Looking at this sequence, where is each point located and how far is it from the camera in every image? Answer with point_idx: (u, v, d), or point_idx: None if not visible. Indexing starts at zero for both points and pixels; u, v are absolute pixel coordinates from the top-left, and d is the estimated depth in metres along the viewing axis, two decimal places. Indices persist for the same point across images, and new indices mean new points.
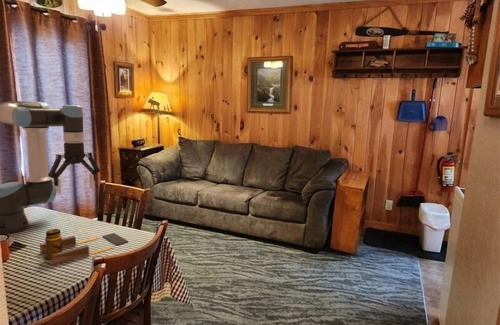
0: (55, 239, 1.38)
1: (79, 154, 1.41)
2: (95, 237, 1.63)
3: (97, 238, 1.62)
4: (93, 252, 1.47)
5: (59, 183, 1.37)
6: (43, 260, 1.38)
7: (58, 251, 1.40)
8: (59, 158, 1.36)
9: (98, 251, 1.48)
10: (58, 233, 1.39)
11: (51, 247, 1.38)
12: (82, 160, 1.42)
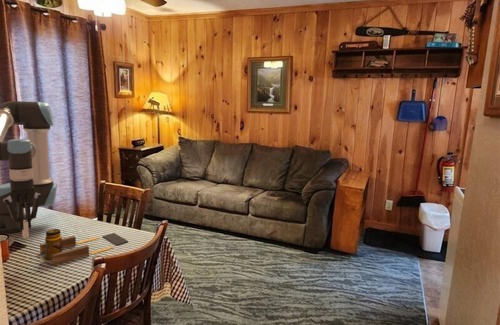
0: (55, 239, 1.38)
1: (30, 189, 1.30)
2: (95, 237, 1.63)
3: (97, 238, 1.62)
4: (93, 252, 1.47)
5: (24, 227, 1.31)
6: (43, 260, 1.38)
7: (58, 251, 1.40)
8: (8, 202, 1.25)
9: (98, 251, 1.48)
10: (58, 233, 1.39)
11: (51, 247, 1.38)
12: (28, 200, 1.30)
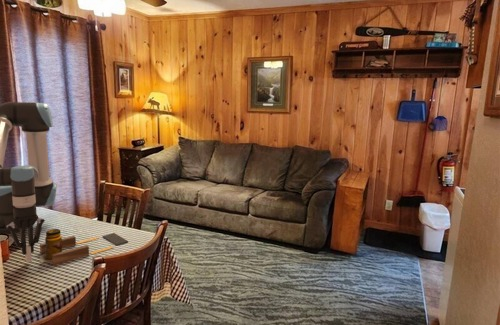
0: (55, 239, 1.38)
1: (32, 215, 1.32)
2: (95, 237, 1.63)
3: (97, 238, 1.62)
4: (93, 252, 1.47)
5: (27, 251, 1.33)
6: (43, 260, 1.38)
7: (58, 251, 1.40)
8: (11, 229, 1.27)
9: (98, 251, 1.48)
10: (58, 233, 1.39)
11: (51, 247, 1.38)
12: (31, 225, 1.32)
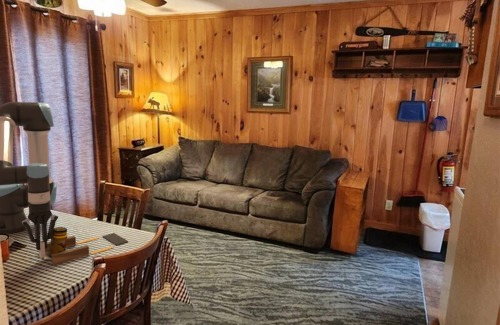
0: (61, 237, 1.40)
1: (47, 211, 1.36)
2: (95, 237, 1.63)
3: (97, 238, 1.62)
4: (93, 252, 1.47)
5: (41, 247, 1.36)
6: (46, 257, 1.39)
7: (62, 250, 1.41)
8: (26, 224, 1.31)
9: (98, 251, 1.48)
10: (65, 231, 1.41)
11: (56, 245, 1.39)
12: (45, 221, 1.35)
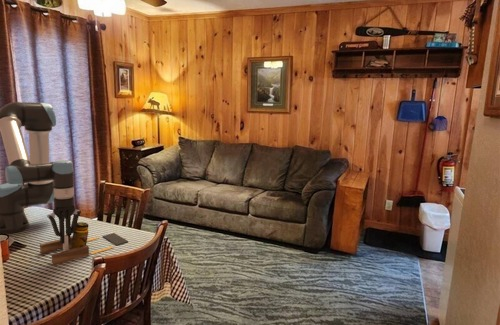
0: (84, 232, 1.46)
1: (70, 206, 1.43)
2: (95, 237, 1.63)
3: (97, 238, 1.62)
4: (93, 252, 1.47)
5: (65, 241, 1.43)
6: None
7: (83, 244, 1.47)
8: (52, 218, 1.38)
9: (98, 251, 1.48)
10: (87, 226, 1.48)
11: (78, 239, 1.45)
12: (69, 216, 1.42)
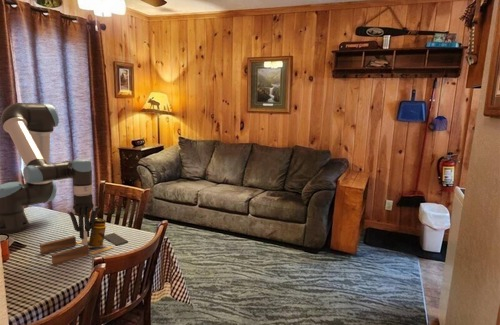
0: (101, 227, 1.52)
1: (89, 203, 1.48)
2: None
3: None
4: (93, 252, 1.47)
5: (84, 236, 1.48)
6: None
7: (101, 239, 1.53)
8: (72, 215, 1.43)
9: (98, 251, 1.48)
10: (104, 222, 1.54)
11: (97, 234, 1.51)
12: (88, 212, 1.48)
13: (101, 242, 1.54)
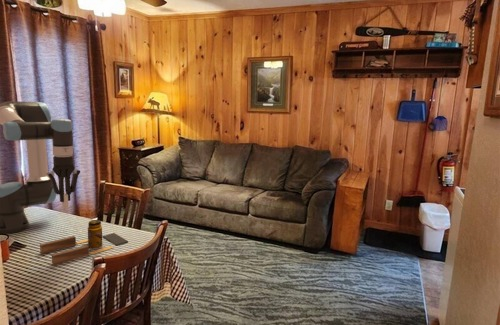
0: (97, 229, 1.51)
1: (70, 165, 1.43)
2: None
3: None
4: (93, 252, 1.47)
5: (65, 199, 1.43)
6: None
7: (99, 240, 1.53)
8: (51, 176, 1.38)
9: (98, 251, 1.48)
10: (99, 223, 1.52)
11: (94, 236, 1.51)
12: (68, 175, 1.42)
13: (100, 243, 1.53)
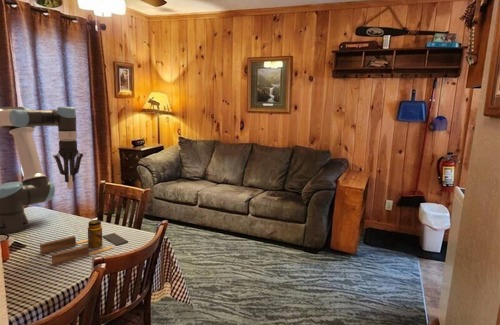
0: (97, 229, 1.51)
1: (74, 149, 1.58)
2: None
3: None
4: (93, 252, 1.47)
5: (69, 180, 1.58)
6: None
7: (99, 240, 1.53)
8: (57, 158, 1.53)
9: (98, 251, 1.48)
10: (99, 223, 1.52)
11: (94, 236, 1.51)
12: (72, 157, 1.57)
13: (100, 243, 1.53)
